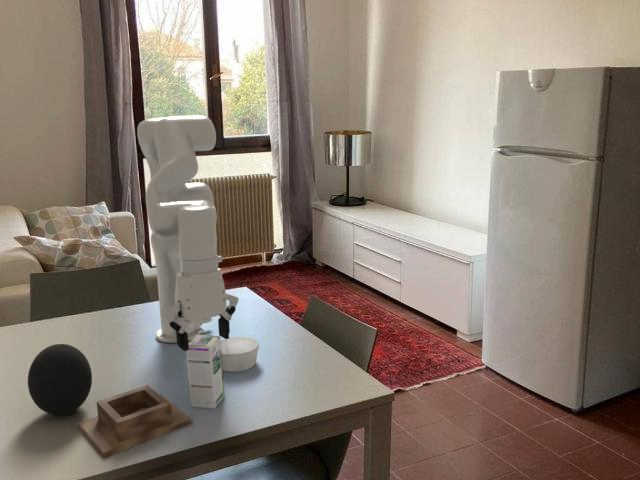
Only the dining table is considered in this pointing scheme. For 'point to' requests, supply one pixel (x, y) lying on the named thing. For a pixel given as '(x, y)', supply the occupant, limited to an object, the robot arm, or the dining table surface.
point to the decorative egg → (59, 379)
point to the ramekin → (238, 353)
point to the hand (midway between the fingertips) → (204, 343)
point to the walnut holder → (132, 420)
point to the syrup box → (205, 371)
